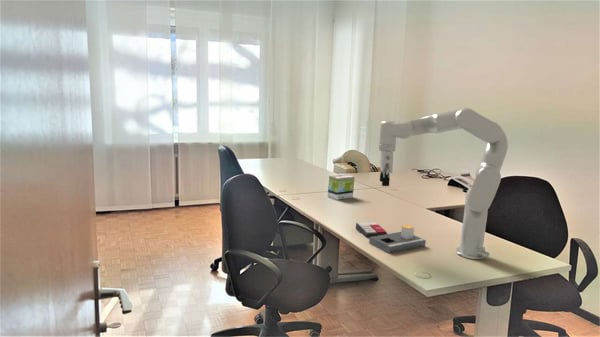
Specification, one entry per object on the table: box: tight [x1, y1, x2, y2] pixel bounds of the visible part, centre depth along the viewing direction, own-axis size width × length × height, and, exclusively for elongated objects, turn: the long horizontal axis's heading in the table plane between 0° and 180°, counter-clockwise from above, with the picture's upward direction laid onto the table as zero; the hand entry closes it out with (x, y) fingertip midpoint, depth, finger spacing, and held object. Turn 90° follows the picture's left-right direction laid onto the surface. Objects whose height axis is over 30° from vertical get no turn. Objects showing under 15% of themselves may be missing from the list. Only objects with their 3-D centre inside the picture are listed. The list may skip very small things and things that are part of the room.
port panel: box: [368, 231, 427, 255], centre depth 197 cm, size 14×22×4 cm, turn 120°
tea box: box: [327, 173, 355, 201], centre depth 283 cm, size 15×10×15 cm, turn 129°
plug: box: [400, 224, 415, 240], centre depth 200 cm, size 4×4×8 cm
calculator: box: [355, 221, 388, 239], centre depth 213 cm, size 11×4×15 cm
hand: (384, 183), depth 199 cm, fingers open, 9 cm apart
